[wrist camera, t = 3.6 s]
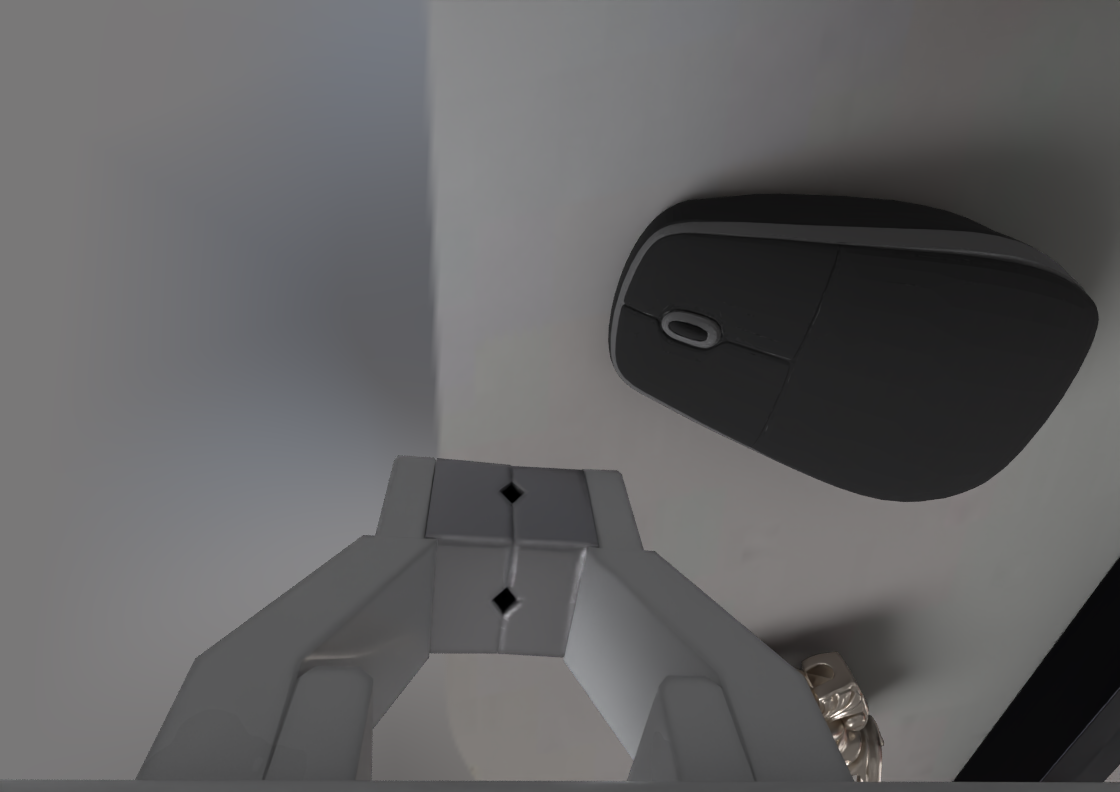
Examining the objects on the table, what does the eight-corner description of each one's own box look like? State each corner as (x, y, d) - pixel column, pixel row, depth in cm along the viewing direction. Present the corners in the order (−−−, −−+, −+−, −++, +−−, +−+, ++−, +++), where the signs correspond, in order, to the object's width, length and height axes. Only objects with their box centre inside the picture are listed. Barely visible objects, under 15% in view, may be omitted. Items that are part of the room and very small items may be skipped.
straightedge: (857, 910, 35) (882, 968, 33) (1352, 241, 17) (1475, 270, 15) (906, 907, 35) (934, 964, 33) (1436, 253, 18) (1567, 283, 16)
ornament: (907, 647, 24) (971, 740, 21) (805, 755, 27) (848, 851, 24) (729, 601, 22) (770, 697, 19) (638, 724, 25) (660, 825, 22)
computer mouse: (651, 136, 14) (705, 170, 11) (1095, 245, 17) (1254, 300, 13) (576, 406, 18) (599, 498, 14) (957, 464, 20) (1056, 555, 16)
